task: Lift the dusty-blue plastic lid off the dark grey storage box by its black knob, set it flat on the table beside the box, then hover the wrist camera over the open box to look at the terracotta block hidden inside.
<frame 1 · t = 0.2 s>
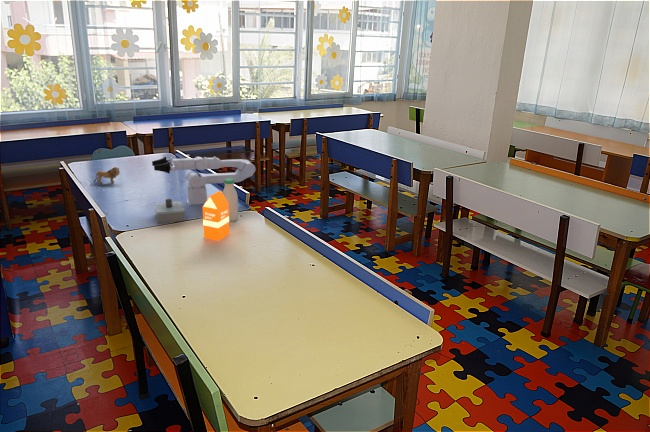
hand: (153, 165, 246), 21 cm above the table, fingers open, 7 cm apart
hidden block: (169, 217, 239), point 1 cm above the table, touching storage box
milk bottle: (230, 219, 242), on the table
storage box: (170, 218, 240), on the table
orange juice: (216, 236, 223), on the table
lid: (169, 208, 238), point 5 cm above the table, touching storage box
lion figurine: (108, 182, 287), on the table
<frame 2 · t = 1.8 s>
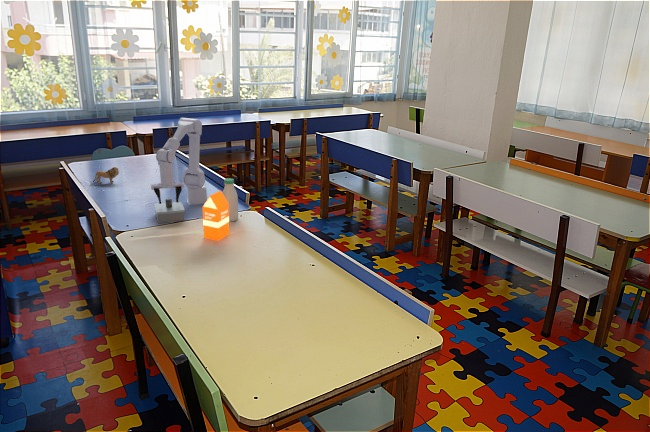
hand: (168, 202, 237), 8 cm above the table, fingers open, 7 cm apart
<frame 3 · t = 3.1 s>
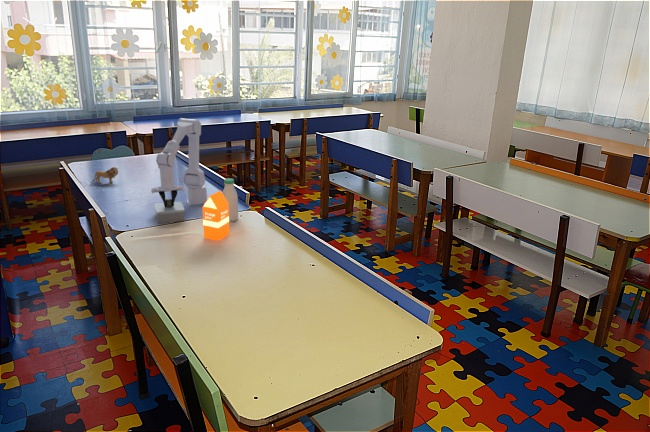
hand: (169, 205, 237), 6 cm above the table, fingers closed on lid, 3 cm apart
lid: (169, 208, 238), point 5 cm above the table, touching gripper, storage box
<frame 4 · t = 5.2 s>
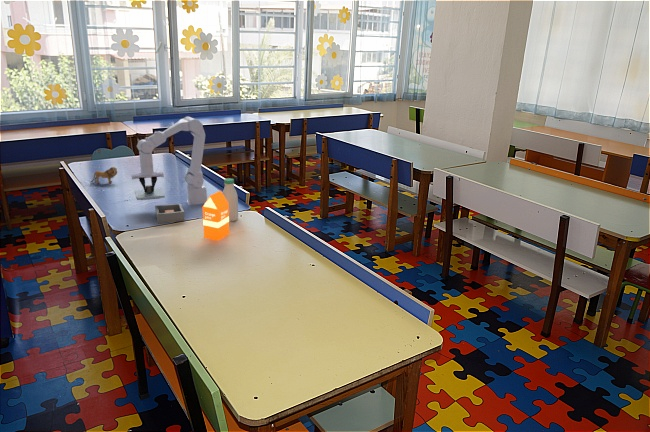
hand: (149, 192, 244), 10 cm above the table, fingers closed on lid, 3 cm apart
lid: (149, 195, 244), point 8 cm above the table, touching gripper
when the fingers open (3 cm above the table, at t = 7.5 s): lid drops 1 cm, on the table.
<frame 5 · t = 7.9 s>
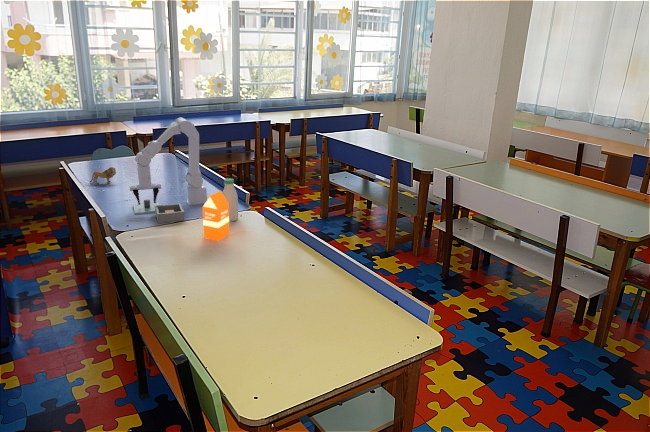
hand: (147, 203, 248), 3 cm above the table, fingers open, 7 cm apart
lid: (147, 209, 249), on the table
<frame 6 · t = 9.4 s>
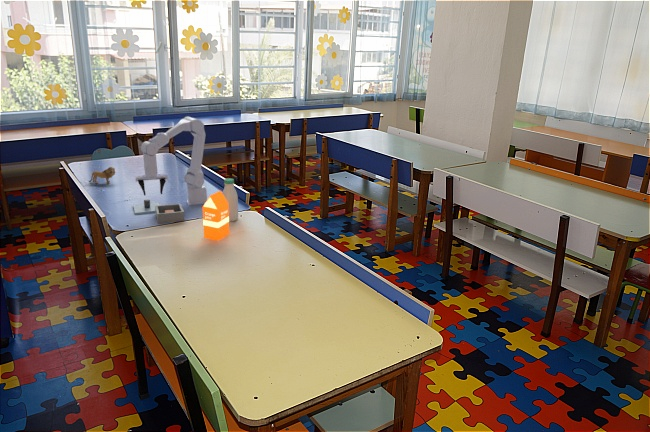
hand: (153, 194, 243), 10 cm above the table, fingers open, 7 cm apart
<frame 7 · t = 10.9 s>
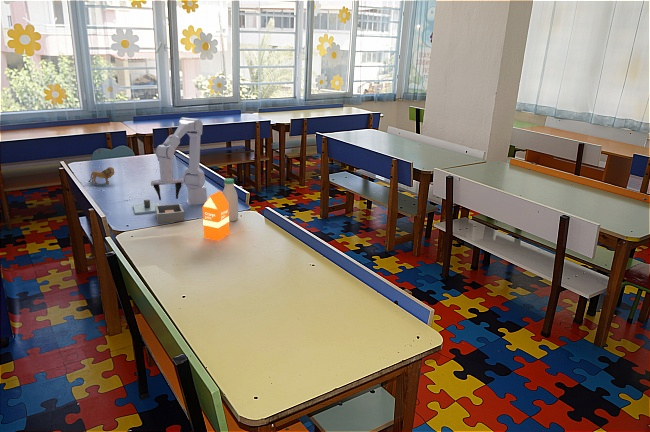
hand: (168, 198, 236), 10 cm above the table, fingers open, 7 cm apart
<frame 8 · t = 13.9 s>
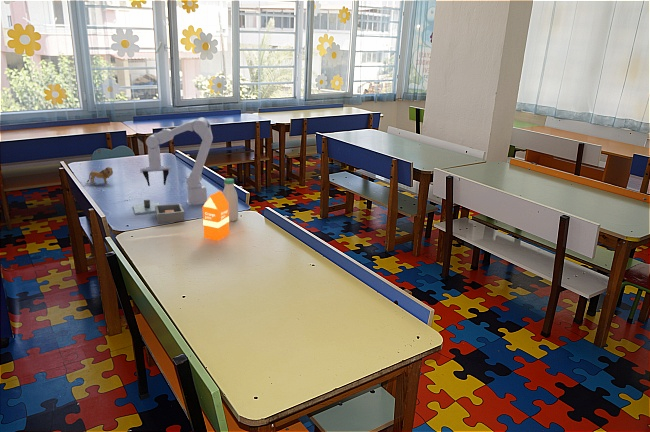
hand: (156, 184, 256), 9 cm above the table, fingers open, 7 cm apart
at the end: lid inside the target area (0.2 cm from its centre), point 0.5 cm above the table; lid tilted 0°; the gripper is holding nothing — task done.
